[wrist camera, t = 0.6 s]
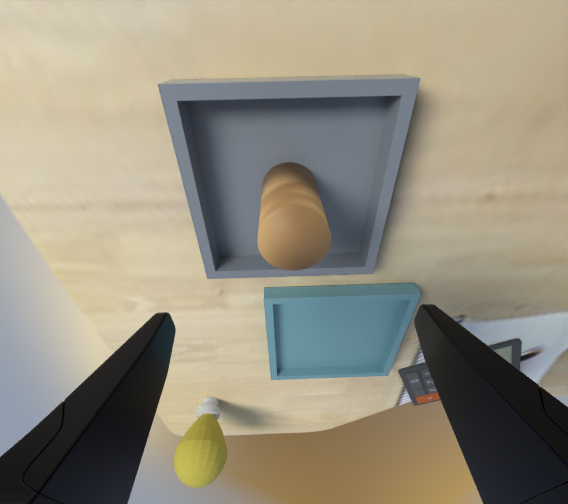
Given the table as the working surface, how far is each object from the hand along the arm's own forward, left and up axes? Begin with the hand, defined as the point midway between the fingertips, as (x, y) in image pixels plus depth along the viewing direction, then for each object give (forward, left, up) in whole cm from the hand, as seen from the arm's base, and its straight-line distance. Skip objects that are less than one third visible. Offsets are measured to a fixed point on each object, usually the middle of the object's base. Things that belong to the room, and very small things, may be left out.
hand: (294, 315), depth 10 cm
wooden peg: (0, +1, -13) cm, 13 cm away
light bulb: (+12, +35, -13) cm, 39 cm away
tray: (-5, +19, -13) cm, 23 cm away
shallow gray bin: (0, +1, -13) cm, 13 cm away
